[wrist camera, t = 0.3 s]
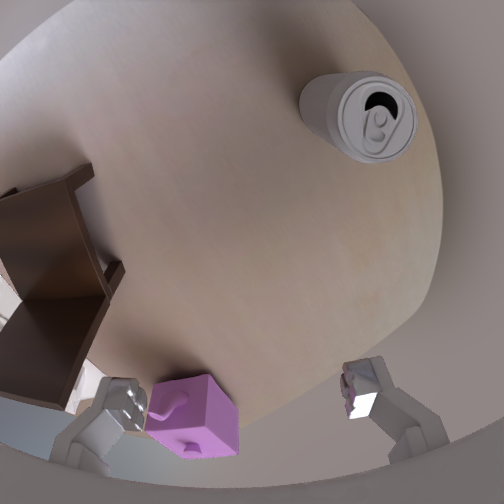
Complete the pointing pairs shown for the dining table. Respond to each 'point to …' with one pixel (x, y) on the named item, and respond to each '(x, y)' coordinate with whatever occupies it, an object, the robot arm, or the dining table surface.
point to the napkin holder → (84, 385)
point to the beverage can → (360, 114)
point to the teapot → (193, 418)
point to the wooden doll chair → (50, 291)
